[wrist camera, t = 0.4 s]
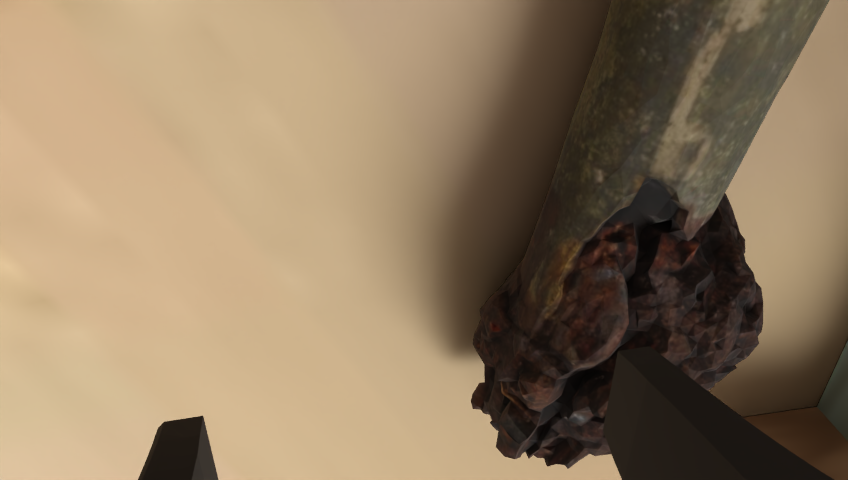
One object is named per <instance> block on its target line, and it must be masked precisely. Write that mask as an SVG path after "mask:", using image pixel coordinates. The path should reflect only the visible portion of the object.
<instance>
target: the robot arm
mask: <svg viewBox="0 0 848 480" xmlns="http://www.w3.org/2000/svg"><path fill="white" fill-rule="evenodd" d="M603 433H604V435H605V438H606V440H607V443H608V446H609V448H610V451H611V454H612V456H613V459H614V461H615V464H616V466H617V468H618V471H619V473H620V476H621V478H622V480H834V479H832V478H831V477H829V476H828V475H826V474H824V473H823V472H821V471H820V470H818V469H817V468H815V467H813V466H812V465H810V464H809V463H807V462H806V461H804V460H803V459H801V458H800V457H798V456H797V455H795V454H794V453H792V452H791V451H789V450H788V449H786V448H785V447H783V446H782V445H780V444H779V443H778V442H776V441H775V440H773V439H772V438H770V437H769V436H768V435H766V434H765V433H763V432H762V431H761V430H759V429H758V428H756V427H755V426H754V425H752V424H751V423H749V422H748V421H747V420H745V419H744V418H743V417H741V416H740V415H739V414H737V413H736V412H735V411H733V410H732V409H731V408H729V407H728V406H727V405H725V404H724V403H723V402H721V401H720V400H719V399H717V398H716V397H715V396H714V395H712V394H711V393H710V392H708V391H707V390H706V389H704V388H703V387H702V386H701V385H699V384H698V383H697V382H695V381H694V380H693V379H692V378H690V377H689V376H688V375H686V374H685V373H684V372H683V371H681V370H680V369H679V368H678V367H676V366H675V365H674V364H672V363H671V362H670V361H669V360H667V359H666V358H665V357H663V356H662V355H661V354H659V353H658V352H657V351H655V350H654V349H653V348H651V347H650V346H648V347H642V348H635V349H629V350H622V351H618V354H617V359H616V364H615V370H614V375H613V380H612V385H611V390H610V395H609V401H608V406H607V411H606V416H605V421H604V426H603ZM138 480H218V477H217V472H216V468H215V464H214V460H213V455H212V451H211V447H210V443H209V439H208V434H207V430H206V426H205V422H204V418H203V416H199V417H193V418H186V419H180V420H173V421H167V422H164V423H163V424H162V425H161V426H160V427H159V428H158V430H157V433H156V436H155V439H154V441H153V444H152V447H151V449H150V452H149V455H148V457H147V460H146V462H145V465H144V467H143V469H142V472H141V474H140V476H139V479H138Z"/></svg>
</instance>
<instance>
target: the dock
mask: <svg viewBox="0 0 848 480" xmlns="http://www.w3.org/2000/svg"><path fill="white" fill-rule="evenodd" d="M743 418H744V419H745V420H747V421H748V422H749V423H751V424H752V425H754V426H755V427H756V428H758V429H759V430H761V431H762V432H763V433H765V434H766V435H768V436H769V437H770V438H772V439H773V440H775V441H776V442H778V443H779V444H780V445H782V446H783V447H785V448H786V449H788V450H789V451H791V452H792V453H794V454H795V455H797V456H798V457H800V458H801V459H803V460H804V461H806V462H807V463H809V464H810V465H812V466H813V467H815V468H817V469H818V470H820V471H821V472H823V473H824V474H826V475H828V476H829V477H831V478H832V479H834V480H848V341H847V343H846V345H845V347H844V350H843V352H842V354H841V356H840V358H839V360H838V363H837V365H836V367H835V369H834V371H833V373H832V375H831V378H830V380H829V382H828V384H827V386H826V388H825V390H824V393H823V395H822V397H821V399H820V401H819V403H818V406H817V407H812V408H805V409H798V410H791V411H784V412H777V413H770V414H763V415H756V416H750V417H743Z"/></svg>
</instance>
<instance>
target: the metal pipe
mask: <svg viewBox="0 0 848 480" xmlns="http://www.w3.org/2000/svg"><path fill="white" fill-rule="evenodd" d="M828 2H829V0H611V4H610V7H609V11H608V14H607V18H606V21H605V25H604V28H603V31H602V35H601V38H600V42H599V45H598V48H597V51H596V54H595V57H594V59H593V62H592V65H591V68H590V70H589V73H588V76H587V79H586V82H585V84H584V87H583V90H582V93H581V95H580V98H579V101H578V104H577V106H576V109H575V112H574V115H573V118H572V121H571V124H570V127H569V130H568V133H567V136H566V139H565V142H564V145H563V148H562V151H561V154H560V158H559V161H558V164H557V167H556V170H555V173H554V176H553V179H552V182H551V185H550V187H549V190H548V193H547V196H546V199H545V202H544V205H543V207H542V210H541V213H540V216H539V218H538V221H537V224H536V227H535V229H534V232H533V235H532V238H531V240H530V243H529V246H528V248H527V251H526V253H525V256H524V259H523V260H522V261H521V262H520V264H519V265H518V266H517V268H516V270H515V271H513V272H512V274H511V275H510V276H509V277H508V278H507V279H506V281H505V283H504V284H503V285H502V286H501V287H500V288H499V289H498V290H497V291H496V293H495V294H493V295H492V296H491V297H490V298H489V299H488V300H487V301H486V303H485V304H484V305H483V307H482V308H481V309H480V314H481V321H480V323H479V325H478V327H477V330H476V332H475V334H474V339H473V345H474V347H475V349H476V351H477V352H478V354H479V356H480V357H481V359H482V361H483V363H484V364H485V383H479V385H478V386H477V388H476V390H475V391H474V393H473V395H472V399H471V403H472V407H473V409H481V410H482V412H483V413H484V414H489V415H490V416H491V419H492V421H491V422H490V423H491V425H492V426H493V427H494V428H495V429H496V430H498V431H499V432H498V438H497V444H496V447H497V449H498V450H499V451H500V452H501V453H502V454H503V455H504V456H505V457H509V458H512V459H516V458H519V457H521V455H522V453H524V452H526V454H527V456H528V458H530V457H531V456H533V455H534V456H536V457H537V458H544V459H545V462H546V465H547V466H550V465H554V464H562V465H565V466H566V467H567V468H570V467H571V466H572V465H574V464H575V463H577V462H578V461H579V460H580V459H582V458H584V457H585V456H587V455H588V454H592V455H594V456H598V455H606V454H611V451H610V448H609V446H608V443H607V440H606V438H605V435H604V433H603V426H604V421H605V416H606V411H607V406H608V401H609V395H610V390H611V385H612V380H613V375H614V370H615V364H616V359H617V354H618V351H622V350H629V349H635V348H642V347H648V346H650V347H651V348H653V349H654V350H655V351H657V352H658V353H659V354H661V355H662V356H663V357H665V358H666V359H667V360H669V361H670V362H671V363H672V364H674V365H675V366H676V367H678V368H679V369H680V370H681V371H683V372H684V373H685V374H686V375H688V376H689V377H690V378H692V379H693V380H694V381H695V382H697V383H698V384H699V385H701V386H702V387H703V388H704V389H706V390H707V391H708V390H709V389H711V388H712V387H714V384H715V383H717V382H719V381H720V380H721V379H723V378H724V377H725V376H726V375H727V374H728V373H729V372H731V371H733V370H734V369H736V368H737V367H736V366H735V364H737V363H738V362H740V361H742V360H744V359H745V358H747V357H748V356H749V355H750V354H751V352H752V351H753V350H754V348H755V347H756V346H757V345H758V344H759V342H758V337H757V336H758V335H759V334H760V333H761V330H762V325H763V298H762V291H761V287H760V286H759V285H758V284H757V283H756V282H755V278H754V274H753V272H752V271H751V269H750V268H749V266H748V265H747V263H746V262H745V257H744V253H745V239H744V238H743V236H742V235H741V234H740V232H739V228H738V225H737V222H736V219H735V216H734V213H733V210H732V207H731V205H730V202H729V200H728V198H727V195H726V194H725V192H726V190H727V188H728V186H729V184H730V182H731V180H732V179H733V177H734V175H735V173H736V171H737V169H738V167H739V165H740V164H741V162H742V160H743V158H744V156H745V154H746V152H747V150H748V148H749V146H750V144H751V142H752V140H753V139H754V137H755V135H756V133H757V131H758V129H759V127H760V125H761V123H762V122H763V120H764V118H765V116H766V114H767V112H768V110H769V109H770V107H771V105H772V103H773V101H774V99H775V97H776V95H777V94H778V92H779V90H780V88H781V87H782V85H783V83H784V82H785V80H786V78H787V77H788V75H789V73H790V71H791V70H792V68H793V66H794V64H795V62H796V60H797V59H798V57H799V55H800V53H801V51H802V49H803V48H804V46H805V44H806V42H807V40H808V38H809V36H810V35H811V33H812V31H813V29H814V27H815V26H816V24H817V22H818V20H819V18H820V16H821V15H822V13H823V11H824V9H825V7H826V6H827V4H828Z"/></svg>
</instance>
